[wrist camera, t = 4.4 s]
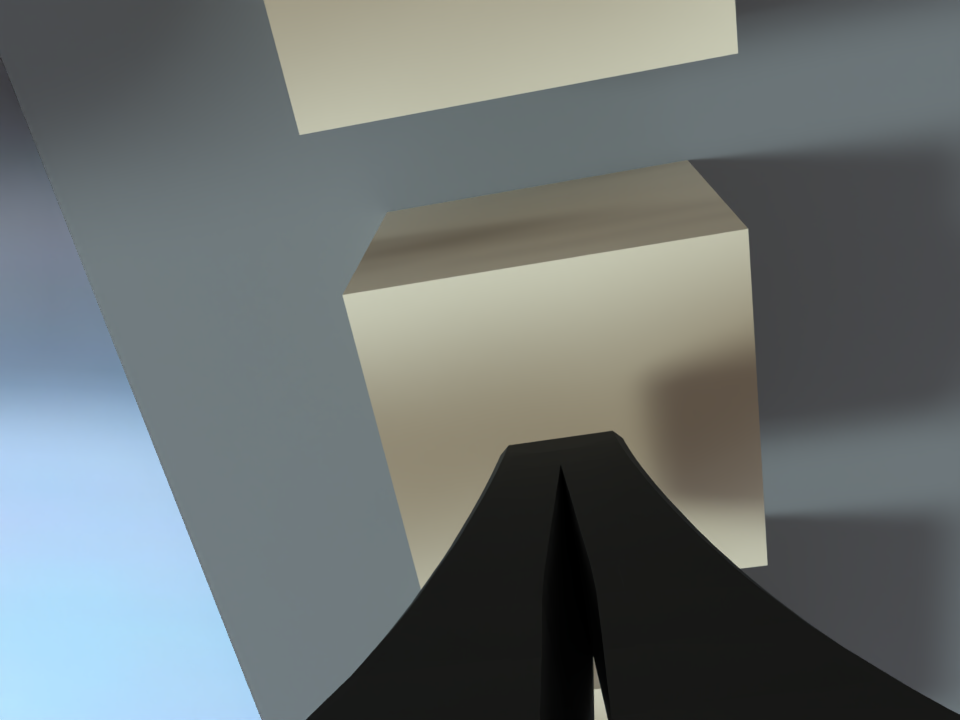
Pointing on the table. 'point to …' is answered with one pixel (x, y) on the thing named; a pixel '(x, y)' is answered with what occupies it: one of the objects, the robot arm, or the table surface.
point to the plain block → (565, 345)
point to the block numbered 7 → (475, 49)
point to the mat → (494, 169)
